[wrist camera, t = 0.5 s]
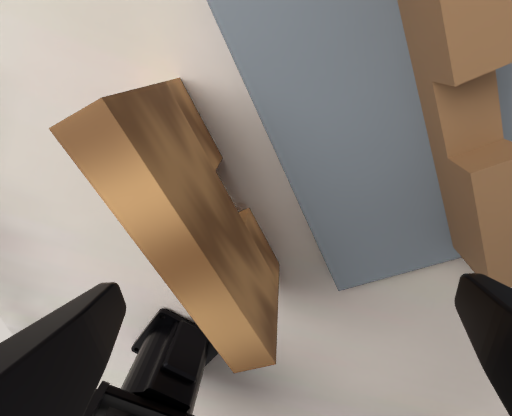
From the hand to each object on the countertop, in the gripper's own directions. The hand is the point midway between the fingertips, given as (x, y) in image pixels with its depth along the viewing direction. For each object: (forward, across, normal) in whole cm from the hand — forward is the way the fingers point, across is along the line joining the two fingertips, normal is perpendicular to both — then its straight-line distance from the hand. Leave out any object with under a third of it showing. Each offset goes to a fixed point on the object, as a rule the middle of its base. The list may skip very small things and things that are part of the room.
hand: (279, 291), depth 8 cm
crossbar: (+12, +4, +2) cm, 13 cm away
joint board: (+12, -9, -3) cm, 15 cm away
